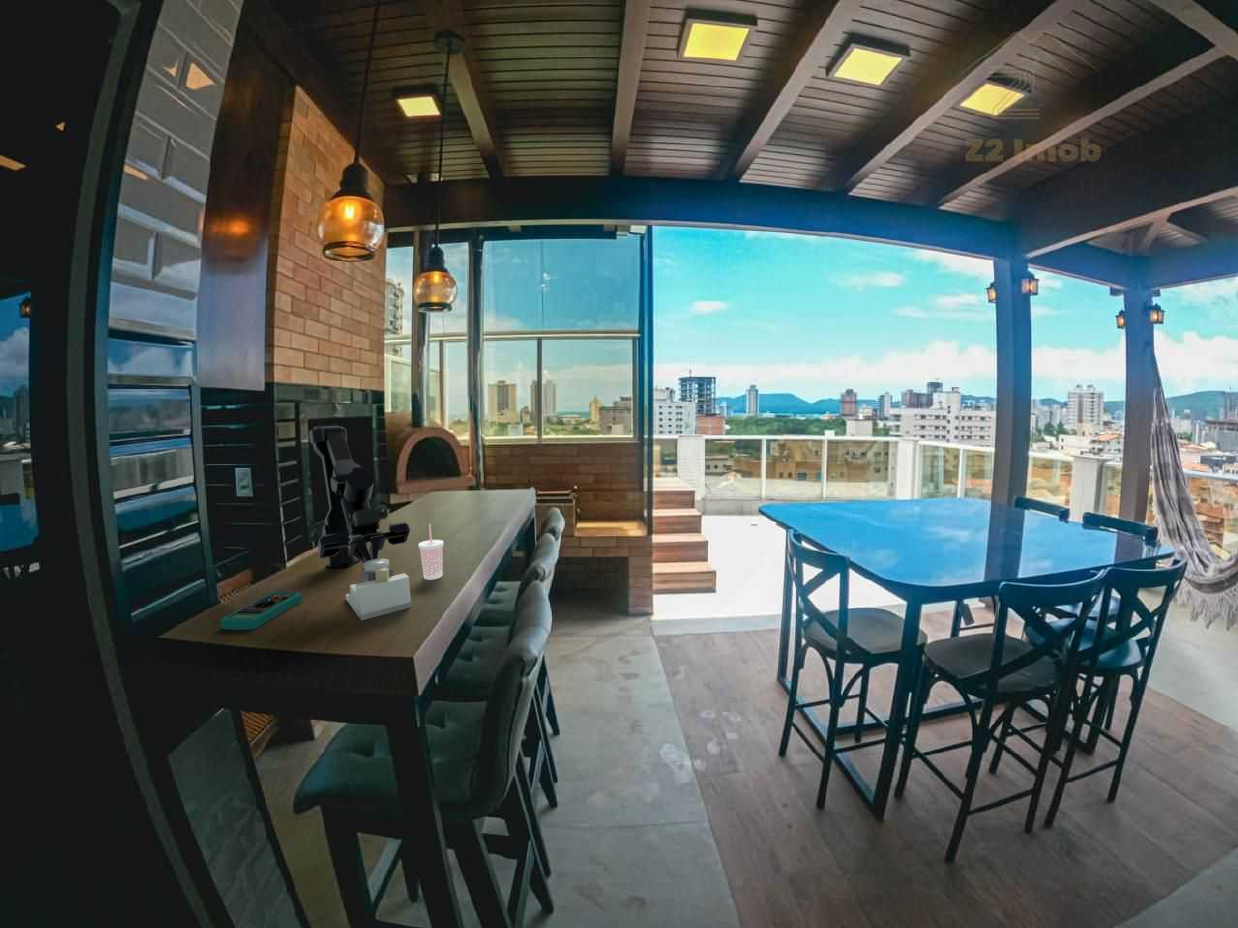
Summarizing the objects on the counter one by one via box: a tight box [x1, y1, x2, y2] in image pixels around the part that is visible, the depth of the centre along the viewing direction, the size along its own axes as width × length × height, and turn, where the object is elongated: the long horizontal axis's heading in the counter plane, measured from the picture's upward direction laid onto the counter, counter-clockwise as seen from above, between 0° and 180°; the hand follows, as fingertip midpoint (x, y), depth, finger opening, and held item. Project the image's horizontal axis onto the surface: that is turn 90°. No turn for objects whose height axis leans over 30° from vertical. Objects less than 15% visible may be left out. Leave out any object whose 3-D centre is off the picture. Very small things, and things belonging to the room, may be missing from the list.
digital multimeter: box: [220, 590, 303, 631], centre depth 106 cm, size 7×15×3 cm, turn 176°
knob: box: [361, 558, 394, 583], centre depth 109 cm, size 5×5×9 cm
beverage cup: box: [418, 523, 444, 581], centre depth 127 cm, size 6×6×14 cm
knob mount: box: [345, 568, 412, 621], centre depth 111 cm, size 14×10×9 cm
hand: (374, 570), depth 111 cm, fingers closed, pressing on knob
